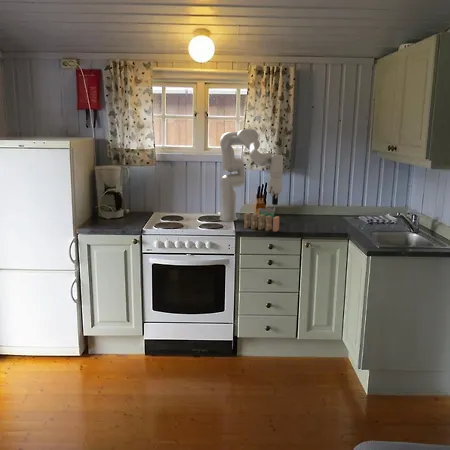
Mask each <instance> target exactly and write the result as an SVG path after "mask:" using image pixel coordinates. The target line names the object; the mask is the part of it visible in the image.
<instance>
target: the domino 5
mask: <svg viewBox="0 0 450 450" xmlns="http://www.w3.org/2000/svg"><path fill="white" fill-rule="evenodd" d="M279 230H280V216H274V218H273V223H272V232H278V231H279Z"/></svg>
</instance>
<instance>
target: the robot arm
mask: <svg viewBox="0 0 450 450" xmlns="http://www.w3.org/2000/svg"><path fill="white" fill-rule="evenodd" d="M219 141H220V142H219V144H220V145H219V146H220V149H221V165H222V171H224V172H226V173H228V174H224V175H222V177H221V179H220V187H221V212H217V213H216V214H217V215H216V216H219V219H218V220H220V221H223V222H234V221H238V217H236V212H237V211H236V207H237V206H236V205H237V204H236V203H237V199H236V198H237V197H236V195H237V194H236V191H235V188H241V187H243V186H244V185H245V181H246V177H245V173H246V172H245V164H244V160H243V159H242V158H240V157H235V150H234V148H233V146H239V145H240V146H241V145H242V146H244V147H245V148H246V149H247V150H248V153H249V158H250V159H251V160H252V162H254V163H255V165H257V166H258V167H264V166H265V167H266V166H267V167H268V166H269V168H270V169H269V181H268V188H267V189H268V191H267V192H268V194H270V197H271V205H274V206H277V205H278V204H279V197H280V195H281V192H282V190H283V173H284V172H283V167H284V156H283V155H282V154H276V153H272V152H271V153H270V152H269V153H261V152H260V151H259V149H260V146H261V143H260V141H259V133H258V130H256V129H253V128H250V129H249V128H248V129H247V128H244V129H241V130H239V131H229V132H225V133H223V134H222V135H221V137H220V140H219ZM229 173H230V174H229Z"/></svg>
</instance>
